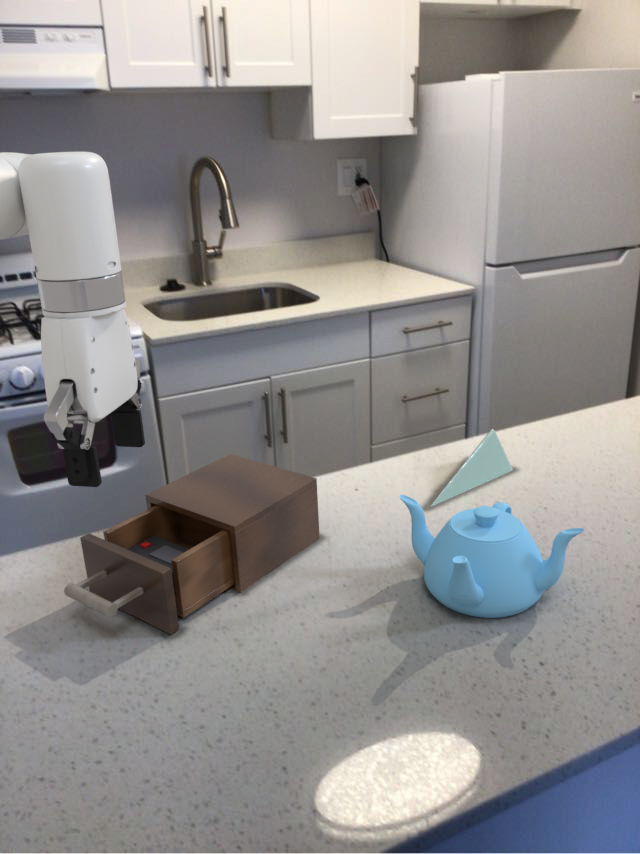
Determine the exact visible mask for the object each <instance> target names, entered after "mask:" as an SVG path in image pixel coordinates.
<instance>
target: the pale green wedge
mask: <svg viewBox="0 0 640 854" xmlns="http://www.w3.org/2000/svg"><path fill="white" fill-rule="evenodd" d="M513 470H514V469H513V466H512V464H511V462H510V460H509V457H508V456H507V454H506V451H505V449H504V447H503V445H502V442H501V441H500V439H499V437H498V434H497V432H496V430H495V429H494V428H492V429H490V430H489V432H488V433H486V435H485V436H484V437H483V438H482V440H481V441H480V443H479V444H478V445H477V446H476V447H475V449H474V450H473V451H472V452H471V454H470V455H469V456H468V457H467V459H466V460H465V461H464V463H463V464H462V465H461V466H460V468H459V469H458V470H457V472H456V473H455V474H454V475H453V476H452V478H451V479H450V480H449V482H448V483H447V484H446V486H445V487H444V488H443V489H442V490H441V492H440V493H439V494H438V496H437V497H436V498H435V500H433V502H432V503H431V505H430V507H433V506H437V504H440V503H442V502H445V501H448V500H449V499H451V498H453V497H454V498H455V497H456V496H458V495H460V494H463V493H465V492H467V491H469V490H472V489H474V488H476V487H479V486H481V485H484V484H486V483H488V482H491V481H492V480H495V479H496V478H498V477H501V476H503V475H506V474H508V473H510V472H511V471H513Z"/></svg>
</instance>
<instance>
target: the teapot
mask: <svg viewBox="0 0 640 854" xmlns="http://www.w3.org/2000/svg"><path fill="white" fill-rule="evenodd" d="M398 497H399V499H400V500H401V501H402V502H403V503H404V505H406V507H407V509H408V511H409V514H410V515H409V516H410V518H411V547H412V550H413V552H414V555H415V556H416V557H417V559H418V560H419V561H420V562H421V563H422V564H423V566H424V568H423V579H424V583H425V586H426V588H427V589H428V591H429V593H430V594H431V595H432V596H433V597H434V598H435V599H436V600H437V601H438V602H439V603H441V604H442V605H443V606H445V607H446V608H447V609H450V610H452V611H454V612H457V613H460V614H463V615H466V616H471V617H475V618H482V619H483V618H484V619H485V618H486V619H499V618H507V617H512V616H515V615H518V614H520V613H524V612H525V611H526V610H528V609H529V608H530V607H532V606H533V605H535V603H537V602H538V601H539V599H540V598H541V597H542V595H543V593H544V591H547V590H548V589H551V588H552V587H553V586H555V584H557V583H558V581H559V580H560V578H561V576H562V574H563V571H564V567H565V559H566V552H567V548H568V545H569V543H570V542H571V541H572V540H573V538H575V537H576V536H578V535H580V534H583V532H585V528H582V527H574V528H567V529H564V530H563V529H562V530H560V531H559V532H558V533H557V534H556V535H555V537H554V539H553V542H552V546H551V552H550V555H549V557H548V558H547V559H545V560H544V559H543V557H542V554H541V551H540V549H539V547H538V545H537V543H536V541H535V539H534V538H533V536H532V535H531V533H530V532H529V530H528V528H527V527H526V526H525V525H524V523H523V522H522V520H520V519H519V518H518V517H517V516H515V515H514V514H512V512H513V511H512V507H511V506H510V504H508V503H506V502H502V501H498V502H495V503H493V505H492V506H490V505H480V506H477V507H474V508H467V509H464V510H461V511H459V512H457V513H455V514H453V516H452V517H450V518H449V519H448V521H446V523H445V524H444V525H443V527H442V528H441V529H440V531H438V533H437V535H436V536H434V535H432V533H431V532H430V531H429V528H428V526H427V523H426V515H425V512H424V509H423V508H422V506H421V505H420V504H421V503H419V502H418V501H417V500H416V499H414V498H412V497H411V496H408V495H405V494H399V495H398Z"/></svg>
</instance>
